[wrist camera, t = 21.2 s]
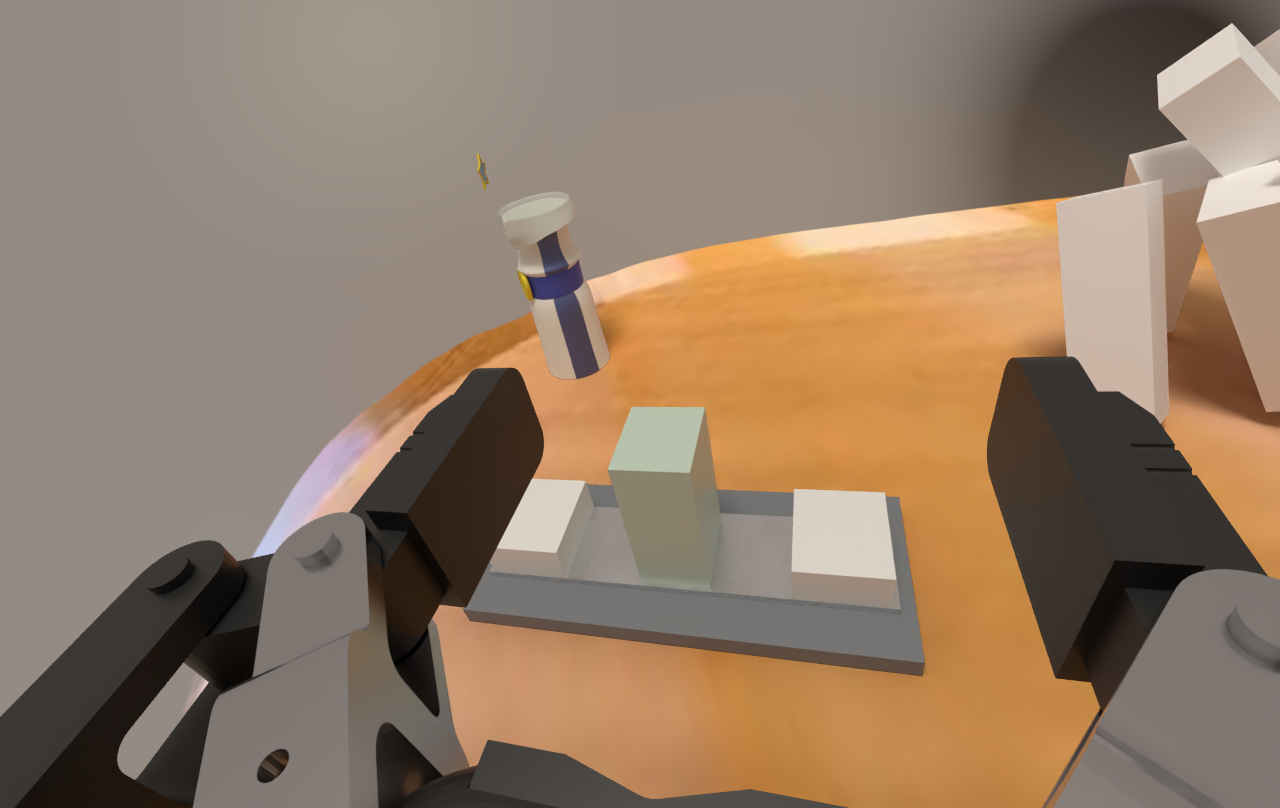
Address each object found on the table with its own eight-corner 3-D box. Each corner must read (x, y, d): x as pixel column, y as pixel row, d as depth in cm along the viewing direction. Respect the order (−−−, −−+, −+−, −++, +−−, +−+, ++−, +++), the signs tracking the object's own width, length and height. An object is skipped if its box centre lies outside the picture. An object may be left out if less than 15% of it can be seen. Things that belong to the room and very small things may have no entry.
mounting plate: (888, 527, 41) (889, 522, 41) (900, 615, 36) (900, 609, 36) (525, 507, 50) (523, 502, 49) (491, 576, 44) (489, 571, 44)
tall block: (721, 517, 44) (705, 405, 37) (710, 587, 39) (689, 472, 33) (658, 513, 45) (632, 405, 39) (640, 580, 41) (607, 469, 34)
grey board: (897, 510, 44) (898, 497, 43) (921, 675, 34) (924, 662, 33) (532, 493, 53) (528, 481, 52) (470, 620, 43) (462, 609, 42)
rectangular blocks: (881, 518, 41) (884, 489, 39) (892, 608, 36) (896, 579, 34) (529, 500, 49) (519, 475, 47) (494, 571, 44) (481, 546, 42)
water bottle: (556, 391, 66) (480, 167, 51) (538, 358, 72) (466, 151, 57) (621, 366, 67) (567, 141, 52) (598, 336, 74) (544, 129, 59)
